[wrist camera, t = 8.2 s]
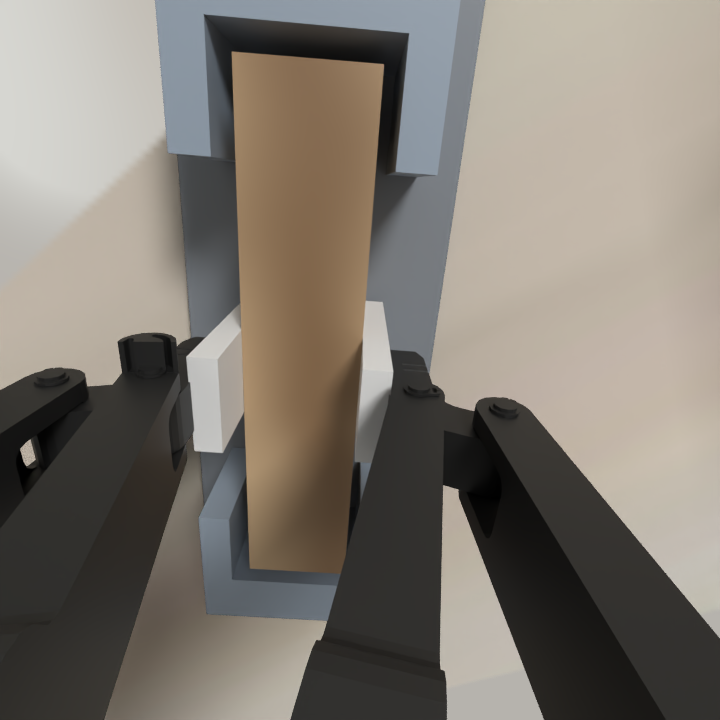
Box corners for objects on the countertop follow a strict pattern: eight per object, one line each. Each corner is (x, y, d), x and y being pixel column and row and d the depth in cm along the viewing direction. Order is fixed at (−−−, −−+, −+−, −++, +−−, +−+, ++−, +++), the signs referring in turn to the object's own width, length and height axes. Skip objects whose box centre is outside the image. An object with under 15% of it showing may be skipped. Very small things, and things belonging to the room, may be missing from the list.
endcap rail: (210, 536, 23) (171, 629, 18) (168, -52, 14) (66, -178, 9) (400, 547, 23) (411, 641, 18) (484, -22, 14) (548, -128, 9)
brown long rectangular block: (275, 481, 21) (249, 568, 16) (273, 93, 15) (232, 51, 10) (348, 486, 21) (344, 574, 16) (377, 101, 15) (383, 64, 10)
